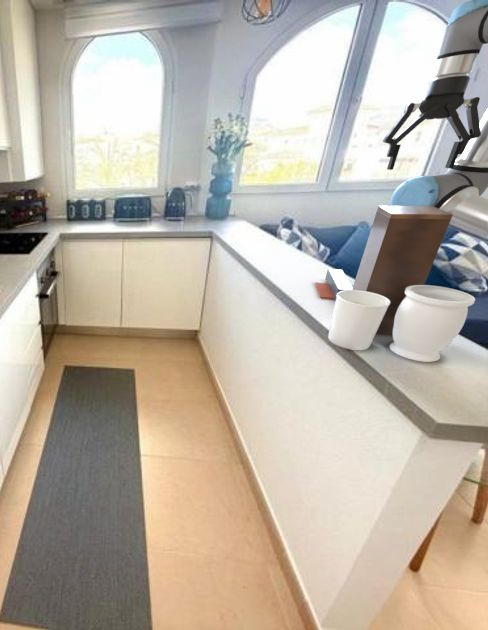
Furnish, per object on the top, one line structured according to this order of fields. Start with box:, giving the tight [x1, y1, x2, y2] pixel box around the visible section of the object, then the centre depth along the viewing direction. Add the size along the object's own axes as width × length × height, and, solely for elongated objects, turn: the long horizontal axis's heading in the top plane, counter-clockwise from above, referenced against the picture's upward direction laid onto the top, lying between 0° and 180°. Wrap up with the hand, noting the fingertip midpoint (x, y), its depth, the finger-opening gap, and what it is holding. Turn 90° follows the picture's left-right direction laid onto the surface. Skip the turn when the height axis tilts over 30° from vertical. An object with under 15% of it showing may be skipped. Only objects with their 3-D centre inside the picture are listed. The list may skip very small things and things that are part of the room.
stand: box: [352, 205, 453, 337], centre depth 85 cm, size 10×11×30 cm
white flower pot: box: [327, 290, 390, 351], centre depth 83 cm, size 10×10×12 cm
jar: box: [389, 284, 476, 363], centre depth 76 cm, size 11×10×15 cm
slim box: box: [324, 268, 353, 302], centre depth 111 cm, size 4×20×4 cm, turn 153°
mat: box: [315, 282, 334, 300], centre depth 111 cm, size 10×13×1 cm
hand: (418, 168), depth 97 cm, fingers open, 12 cm apart
